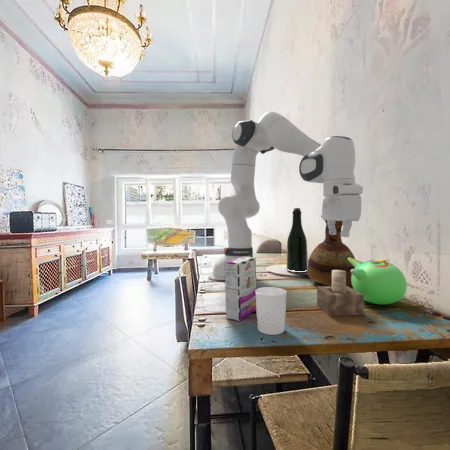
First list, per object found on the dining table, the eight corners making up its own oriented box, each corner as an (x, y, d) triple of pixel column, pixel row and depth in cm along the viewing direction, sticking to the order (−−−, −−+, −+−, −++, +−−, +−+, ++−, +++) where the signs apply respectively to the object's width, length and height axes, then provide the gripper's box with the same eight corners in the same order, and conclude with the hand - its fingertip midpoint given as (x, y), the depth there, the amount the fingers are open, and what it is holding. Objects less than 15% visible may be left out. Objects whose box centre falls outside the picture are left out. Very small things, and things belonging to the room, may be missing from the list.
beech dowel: (334, 312, 81) (334, 272, 81) (329, 307, 85) (329, 269, 85) (348, 312, 81) (348, 272, 81) (342, 307, 85) (342, 269, 85)
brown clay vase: (310, 289, 107) (310, 213, 106) (304, 277, 127) (304, 213, 126) (364, 291, 103) (364, 212, 102) (349, 279, 123) (349, 213, 122)
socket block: (328, 316, 78) (328, 295, 78) (317, 304, 88) (317, 286, 88) (363, 315, 78) (363, 295, 78) (347, 304, 88) (347, 286, 88)
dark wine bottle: (296, 268, 148) (296, 208, 147) (311, 271, 140) (311, 207, 138) (282, 270, 143) (282, 208, 142) (297, 274, 134) (297, 207, 133)
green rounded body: (414, 314, 79) (415, 264, 78) (350, 308, 84) (351, 261, 84) (396, 296, 96) (397, 255, 95) (344, 293, 101) (345, 253, 101)
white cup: (267, 339, 64) (267, 297, 64) (249, 327, 71) (249, 289, 71) (293, 332, 68) (293, 292, 67) (273, 321, 75) (273, 285, 74)
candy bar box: (243, 307, 87) (242, 256, 86) (257, 310, 84) (256, 257, 83) (224, 318, 77) (223, 261, 77) (239, 322, 74) (239, 262, 74)
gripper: (317, 193, 92) (316, 233, 93) (342, 186, 72) (342, 238, 72) (335, 193, 92) (335, 233, 93) (366, 186, 72) (365, 238, 72)
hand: (338, 235), depth 82 cm, fingers open, 8 cm apart
